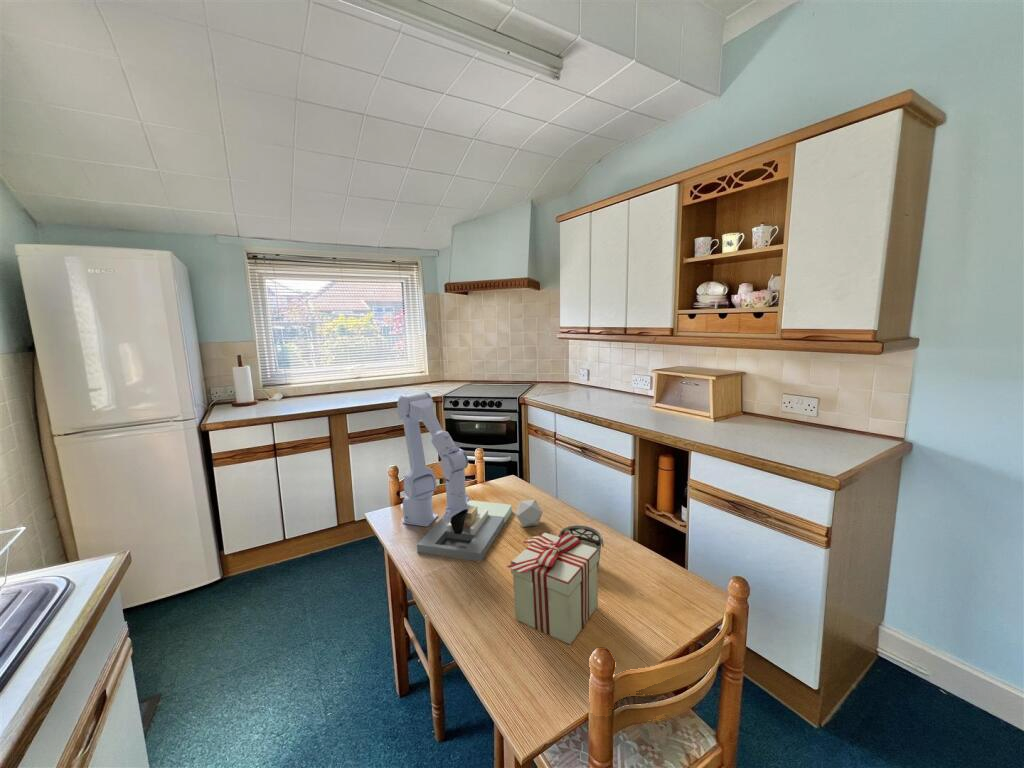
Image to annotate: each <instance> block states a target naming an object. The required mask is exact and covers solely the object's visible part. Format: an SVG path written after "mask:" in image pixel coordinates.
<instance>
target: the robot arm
mask: <svg viewBox="0 0 1024 768" xmlns="http://www.w3.org/2000/svg"><path fill="white" fill-rule="evenodd" d="M396 406H397V407H396V408H397V412H398V417H399V418H398V419H399V421H402V424H403V429H404V435H405V436H404V437H405V441H406V448H407V455H408V461H409V467H410V469H409V470H408V471H407V472H406V473H405V474H404V476H403V492H404V494H405V496H404V497H403V501H402V512H403V513H402V515H403V521H402V524H406V525H413V526H420V527H429V526H430V525H431V524H432V523H433V522H434V521H435V520H436V519H437V518H438V517H439V514H438V513H434V507H433V506H434V505H433V495H434V493H435V492H434V491H436V490H437V487H438V486H437V484H438V482H437V478H436V476H435V473H434V470H433V469H432V468H431V467H428V466H427V464H426V458H425V457H426V456H425V452H424V446H423V439H422V434H421V433H422V432H421V426H420V420H421V422H422V423H423V425H424V426H425V427H426V429H427V431H428V432H429V433H430V435H431V436H432V438H431V443H432V445H433V447H434V449H435V450H436V453H437V454H438V456H439V458H440V468H441V469H442V472H443V478H444V479H445V488H446V489H445V493H446V506H445V511H444V514H443V516H442V517H443V519H444V522H450V523H451V525H452V528H453V531H454V533H455V534H461V533H462V531H463V526H464V521H465V517H466V514H467V512H468V509H469V508H470V505H469V504H467V502H468V501H469V500H470V495H469V494H467V491H466V474H465V472H466V471H465V469H466V468H468V465H469V458H468V454H467V453H466V451H465V450H464V449H461V448H460V446H457V445H456V443H455V441H454V440H453V437H452V436H451V435H450V433H449V432H448V431H446V430H443V427H442V426H441V423H440V422H439V420H438V418H437V416H436V413H435V411H434V400H433V397H432V395H431V394H430V393H429V392H428V391H422V392H418V393H411V394H406V395H400V396H399V397H398V400H397V402H396Z"/></svg>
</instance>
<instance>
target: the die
mask: <svg viewBox="0 0 1024 768" xmlns="http://www.w3.org/2000/svg"><path fill="white" fill-rule="evenodd" d="M542 515H543V510H542V509H541V507H540V505H539V503H538V501H537V499H528V500H526V499H525V500H520V501H519V503H518V506H517V508H516V511H515V516H516V517H517V520H518V521H519V523H520V524H521V527H522V528H525V527H531V526H532V527H533V526H538V525H539V524H540V521H541V518H542Z"/></svg>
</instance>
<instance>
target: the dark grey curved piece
mask: <svg viewBox="0 0 1024 768" xmlns="http://www.w3.org/2000/svg"><path fill="white" fill-rule="evenodd" d="M566 532H569V533H571V534H572V535H573V536H575V537H576V538H578V539H579V540H580V541H581V542H580V543H581V544H584V545H588V546H591V547H594V548H597V549H599V561H598V562H597V575H598V573H599V566H600V556H601V549H602V548H604V546H605V545H604V539H603V537H602V534H601V533H600V532H599V531H598V530H597V529H595V528H594V527H591V526H587V525H578V524H577V525H570V526H566V527H564V528H562V529H561V530H560V531H559V532H558V537H561V536H562V535H563V534H564V533H566Z"/></svg>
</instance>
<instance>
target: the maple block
mask: <svg viewBox="0 0 1024 768" xmlns="http://www.w3.org/2000/svg"><path fill="white" fill-rule="evenodd" d="M477 519H478V511H477V506H470V508H469V509H468V512H467V514H466V517H465V521H464V526H463V527H465V528H471V526H472V525H473V524H474V523H475V521H476V520H477Z"/></svg>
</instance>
